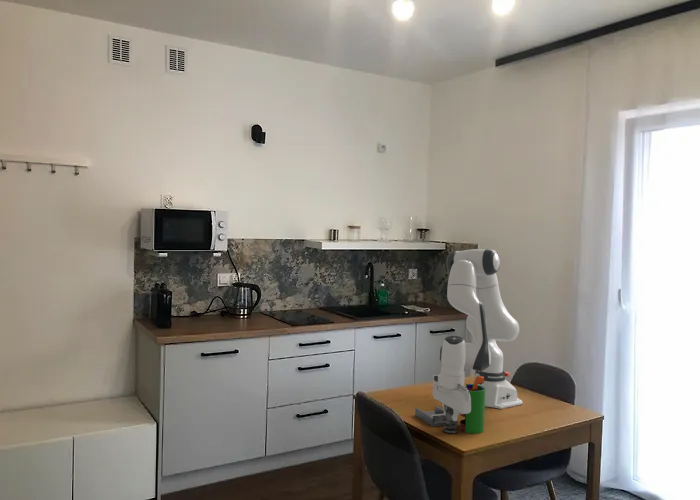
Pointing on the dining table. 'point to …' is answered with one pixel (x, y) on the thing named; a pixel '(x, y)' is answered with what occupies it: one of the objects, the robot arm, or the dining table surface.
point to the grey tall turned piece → (449, 422)
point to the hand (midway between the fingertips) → (450, 418)
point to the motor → (475, 408)
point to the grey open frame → (431, 416)
